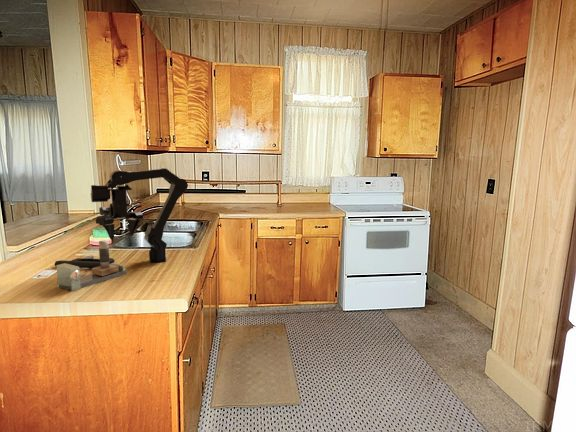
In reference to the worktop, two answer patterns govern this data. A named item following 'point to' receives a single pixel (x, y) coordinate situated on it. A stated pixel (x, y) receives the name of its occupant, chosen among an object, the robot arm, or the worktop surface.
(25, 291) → the worktop surface
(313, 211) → the worktop surface
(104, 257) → the carriage
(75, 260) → the door handle
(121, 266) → the rail
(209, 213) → the worktop surface
